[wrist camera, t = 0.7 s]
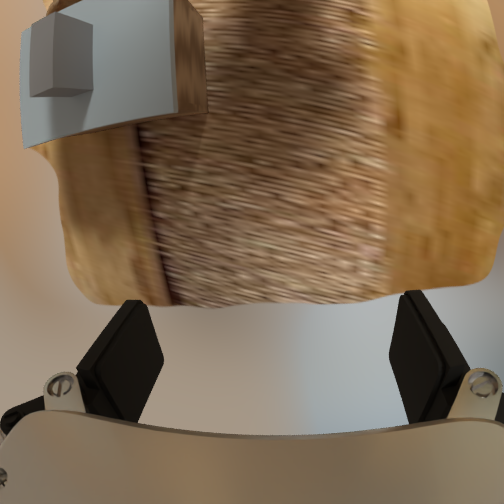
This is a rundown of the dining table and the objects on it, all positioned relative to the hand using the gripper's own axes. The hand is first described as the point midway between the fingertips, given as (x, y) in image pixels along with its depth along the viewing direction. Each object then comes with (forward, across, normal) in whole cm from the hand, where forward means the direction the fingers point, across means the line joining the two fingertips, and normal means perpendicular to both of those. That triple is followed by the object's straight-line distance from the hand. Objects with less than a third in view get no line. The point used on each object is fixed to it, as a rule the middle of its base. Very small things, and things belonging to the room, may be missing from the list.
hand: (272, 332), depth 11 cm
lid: (+18, +17, -16) cm, 29 cm away
